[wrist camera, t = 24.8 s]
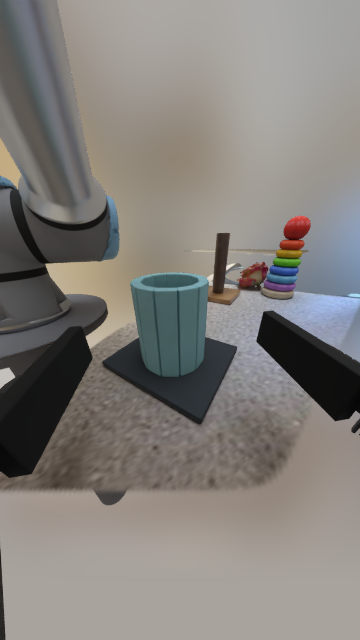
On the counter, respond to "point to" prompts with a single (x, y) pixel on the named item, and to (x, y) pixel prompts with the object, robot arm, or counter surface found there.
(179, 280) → the planter pot
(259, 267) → the flower
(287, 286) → the stacking toy
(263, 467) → the counter surface
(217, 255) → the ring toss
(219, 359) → the mat
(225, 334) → the counter surface
